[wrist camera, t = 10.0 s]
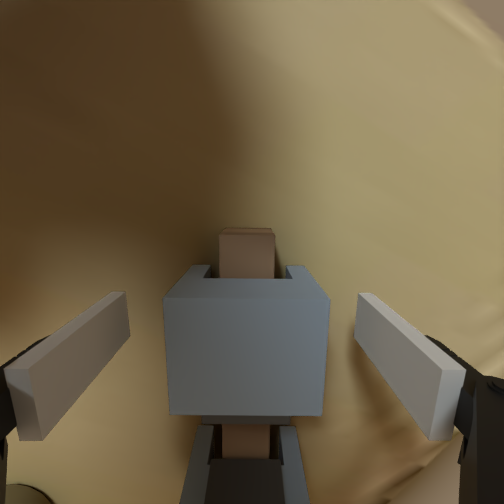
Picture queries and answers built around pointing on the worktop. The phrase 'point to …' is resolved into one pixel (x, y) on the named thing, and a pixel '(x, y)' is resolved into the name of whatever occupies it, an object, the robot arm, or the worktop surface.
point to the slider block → (245, 474)
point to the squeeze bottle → (23, 495)
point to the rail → (246, 267)
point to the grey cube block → (246, 347)
